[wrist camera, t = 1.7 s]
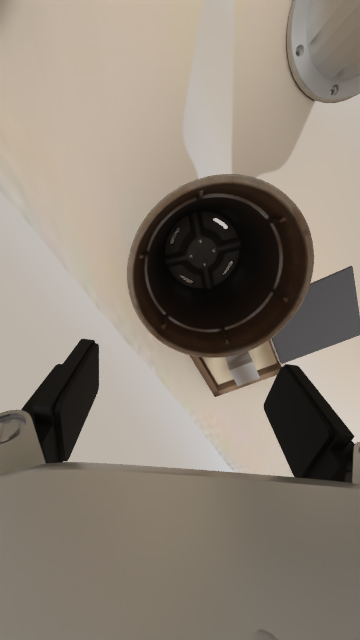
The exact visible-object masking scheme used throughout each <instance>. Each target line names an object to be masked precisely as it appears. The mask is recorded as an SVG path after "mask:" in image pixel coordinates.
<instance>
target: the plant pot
mask: <svg viewBox="0 0 360 640" xmlns="http://www.w3.org/2000/svg"><path fill="white" fill-rule="evenodd" d="M213 218H218V219H219V220H221V221H223V222H224V223H225V224H226V225H227V226H228V228H227V229H224V228H223V226H221V225H219V224H218V223H217V222H215V221H213ZM178 227H179V229H180V231H179V233H178V234H177V236H176V238H175V240H174V243H173V244H170V239H171V237H172V235H173V233H174V232H175V230H176V229H177V228H178ZM199 239H202V243H198V240H199ZM213 248H215V249H216V252H215V253H213V252H212V249H213ZM190 254H192V255H193V257H192V258H189V255H190ZM230 261H232V262H233V264H232V266H231V267H230V269H229V270H228V272H227V273H226V274H225V275H222V274H223V272H224V270H225V269H226V268H227V266H228V264H229V262H230ZM204 262H205V263H206V264H207V266H206V267H204V266H203V263H204ZM313 264H314V251H313V243H312V238H311V234H310V231H309V227H308V225H307V223H306V220H305V218H304V216H303V215H302V213H301V212H300V210H299V209H298V207H297V206H296V204H295V203H294V202H293V201H292V200H291V199H290V198H289V197H288V196H286V195H285V194H284V193H283V192H282V191H280V190H279V189H278V188H276V187H275V186H273V185H271V184H269V183H267V182H265V181H262V180H259V179H257V178H253V177H249V176H244V175H236V174H223V175H214V176H208V177H205V178H201V179H197V180H195V181H192V182H190V183H187V184H185V185H183V186H181V187H180V188H178V189H176V190H175V191H173V192H172V193H170V194H169V195H167V196H166V197H165V198H164V199H162V200H161V201H160V202H159V203H158V204H157V205H156V206H155V207H154V208H153V209H152V210H151V211H150V212H149V214H148V215H147V217H146V218H145V219H144V221H143V222H142V224H141V226H140V228H139V229H138V231H137V233H136V236H135V238H134V241H133V244H132V246H131V250H130V254H129V259H128V266H127V282H128V290H129V294H130V298H131V301H132V304H133V307H134V309H135V311H136V313H137V315H138V317H139V318H140V320H141V321H142V323H143V324H144V326H145V327H146V328H147V329H148V331H149V332H150V333H151V334H152V335H153V336H154V337H156V338H157V339H158V340H159V341H161V342H162V343H163V344H165V345H167V346H168V347H170V348H172V349H174V350H177V351H179V352H182V353H185V354H188V355H192V356H197V357H206V358H220V357H229V356H234V355H238V354H242V353H245V352H247V351H250V350H252V349H254V348H257V347H258V346H260V345H262V344H264V343H265V342H267V341H268V340H270V339H271V338H273V337H274V336H275V335H276V334H277V333H278V332H279V331H280V330H281V329H282V328H283V327H284V326H285V325H286V324H287V323H288V322H289V321H290V320H291V319H292V317H293V316H294V315H295V314H296V312H297V311H298V309H299V308H300V306H301V304H302V302H303V300H304V298H305V296H306V294H307V291H308V288H309V286H310V282H311V278H312V272H313ZM179 275H183V276H185V277H186V278H188V279H190V280H192V281H193V283H192V284H190V283H188V282H186V281H185V280H183V279H182V278H181V277H180V276H179Z"/></svg>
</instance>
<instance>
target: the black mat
mask: <svg viewBox="0 0 360 640" xmlns="http://www.w3.org/2000/svg"><path fill="white" fill-rule="evenodd" d="M359 335H360V316H359V308H358V302H357V295H356V287H355V281H354V274H353V267H352V266H350V267H348V268H345V269H343V270H341V271H339V272H336V273H334V274H332V275H329V276H327V277H325V278H323V279H320V280H318V281H316V282H313V283H311V284H310V286H309V288H308V291H307V294H306V296H305V298H304V300H303V302H302V304H301V306H300V308H299V309H298V311H297V312H296V314H295V315H294V316H293V317H292V319H291V320H290V321H289V322H288V323H287V324H286V325H285V326H284V327H283V328H282V329H281V330H280V331H279V332H278V333H277V334H276V335H275V336H274V337H273V338H272V340H273V343H274V346H275V348H276V351H277V354H278V356H279V359H280V362H281V363H282V364H283V363H285V362H288V361H291V360H294V359H296V358H299V357H302V356H304V355H307V354H310V353H313V352H315V351H318V350H321V349H323V348H326V347H329V346H332V345H334V344H337V343H339V342H342V341H345V340H348V339H351V338H353V337H356V336H359Z"/></svg>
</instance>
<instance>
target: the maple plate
mask: <svg viewBox="0 0 360 640" xmlns="http://www.w3.org/2000/svg"><path fill="white" fill-rule="evenodd" d="M203 359H204V361H205V363H206V364H207V366H208V368H209V369H210V371H211V373H212V375H213V376H214V378H215V380H216V382H217V383H218V385H219V384H222V383H225V382H227V381H230V380H233V379H234V380H235V382H236V384H237V386H241V385H243V384H246V383H249V382H252V381H254V380H257V379H260V376H259V374H258V372H257V370H260V369H262V368H265V367H268V366H270V365H273V364H276V363H277V362H276V360H275V357H274V354H273V352H272V349H271V347H270V344H269V342H268V341H267V342H265V343H264V344H262V345H260V346H258V347H257V348H254V349H252V350H250V351H247V352H245V353H242V354H238V355H234V356H229V357H220V358H206V357H203Z"/></svg>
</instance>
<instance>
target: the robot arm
mask: <svg viewBox="0 0 360 640" xmlns="http://www.w3.org/2000/svg"><path fill="white" fill-rule="evenodd" d="M287 53H288V60H289V65H290V68H291V71H292V74H293V77H294V79H295V81H296V82H297V84H298V86H299V87H300V88H301V90H302V91H303V92H304V93H305V94H306V95H307V96H309V97H311V98H312V99H314V100H316V101H320V102H323V103H336V102H340V101H344V100H347V99H349V98H351V97H353V96H356V95H357V94H359V93H360V0H293V2H292V6H291V10H290V14H289V20H288V28H287ZM296 53H297V54H298V56H296ZM330 91H331V93H330ZM98 387H99V345H98V344H96V343H95V341H94V340H88V339H81V340H80V342H79V343H78V344H77V346H76V347H75V348H74V350H73V351H72V352H71V354H70V355H69V356H68V358H67V359H66V360H65V362H64V363H63V364H58V365H56V366H55V367H54V368H53V370H52V371H51V372H50V373H49V375H48V376H47V377H46V379H45V380H44V381H43V382H42V384H41V385H40V386H39V388H38V389H37V390H36V391H35V393H34V394H33V395H32V397H31V398H30V399H29V400H28V402H27V403H26V404H25V406H24V407H23V408H22V410H11V411H6V412H3V413H0V640H360V442H358V443H356V444H354V443H353V442H352V441H351V440H352V439H353V438H354V435H353V434H352V433H351V431H350V430H349V429H348V428H347V426H346V425H345V424H344V423H343V421H342V420H341V419H340V418H339V417H338V415H337V414H336V413H335V411H334V410H333V409H332V408H331V406H330V405H329V404H328V403H327V401H326V400H325V399H324V398H323V396H322V395H321V394H320V393H319V391H318V390H317V389H316V388H315V386H314V385H313V384H312V383H311V381H310V380H309V379H308V378H307V376H306V375H305V374H304V372H303V371H302V370H301V369H300V367H298V366H295V365H288V364H286V365H284V367H281V368H280V370H279V372H278V375H277V377H276V379H275V381H274V383H273V385H272V388H271V390H270V392H269V394H268V396H267V398H266V401H265V403H264V410H265V413H266V415H267V417H268V420H269V422H270V424H271V426H272V428H273V431H274V433H275V435H276V437H277V440H278V442H279V444H280V446H281V449H282V451H283V453H284V455H285V457H286V460H287V462H288V464H289V466H290V469H291V471H292V473H293V475H294V477H283V476H271V475H259V474H246V473H233V472H220V471H207V470H193V469H180V468H166V467H151V466H136V465H123V464H102V463H83V462H82V463H81V462H80V463H79V462H63V461H67V460H68V459H69V457H70V455H71V453H72V450H73V448H74V446H75V443H76V441H77V439H78V436H79V434H80V432H81V429H82V427H83V425H84V422H85V420H86V418H87V416H88V413H89V411H90V409H91V406H92V404H93V401H94V399H95V397H96V394H97V392H98Z"/></svg>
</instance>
